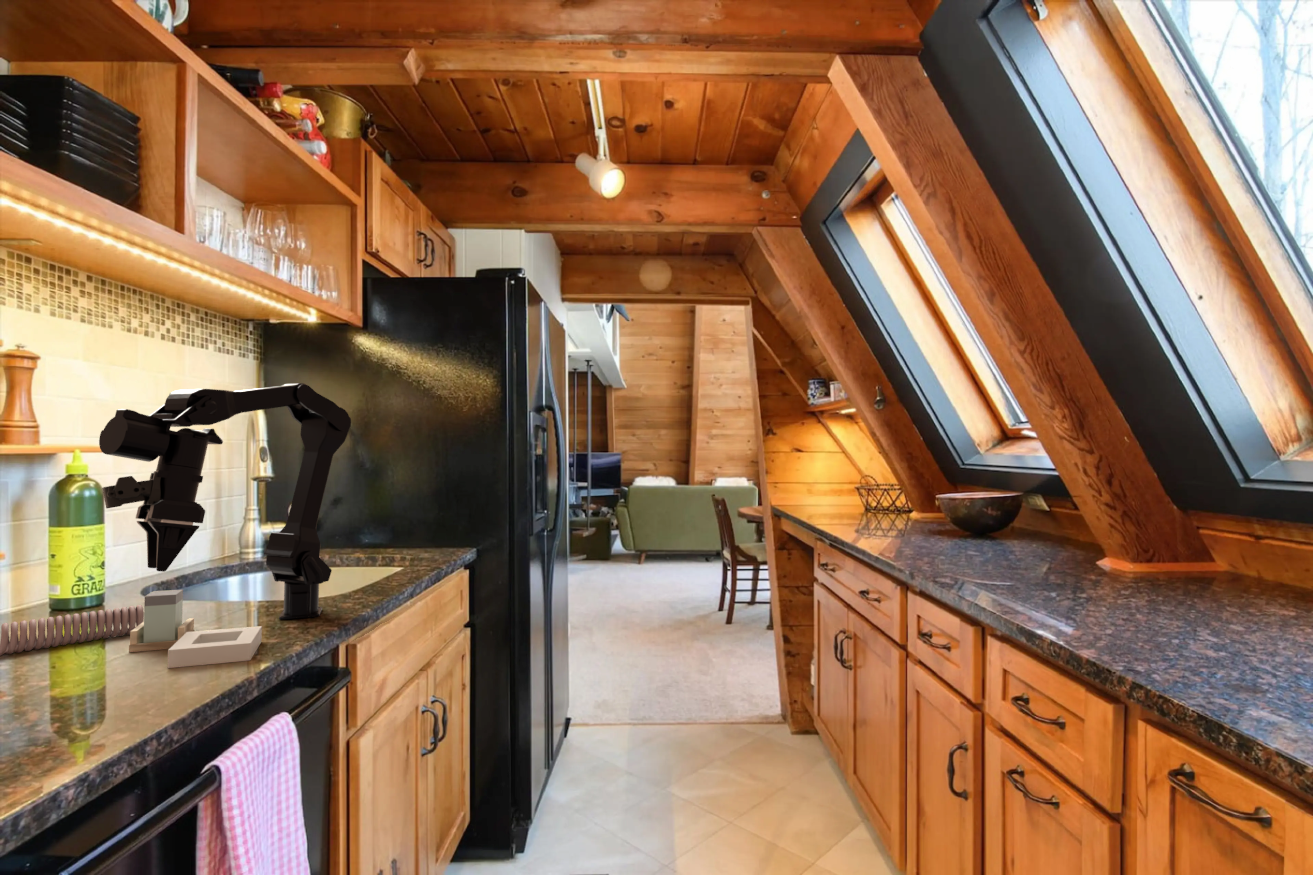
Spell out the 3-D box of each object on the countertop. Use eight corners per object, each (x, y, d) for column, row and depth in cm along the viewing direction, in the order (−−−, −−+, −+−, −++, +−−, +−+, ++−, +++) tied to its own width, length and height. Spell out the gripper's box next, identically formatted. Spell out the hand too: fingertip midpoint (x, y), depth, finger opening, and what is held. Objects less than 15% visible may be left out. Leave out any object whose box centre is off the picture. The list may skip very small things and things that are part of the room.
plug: (151, 641, 105) (152, 591, 106) (181, 639, 107) (182, 589, 107) (143, 648, 102) (144, 596, 102) (174, 646, 103) (175, 594, 103)
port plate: (186, 648, 102) (187, 631, 102) (261, 641, 106) (261, 625, 106) (167, 668, 93) (168, 650, 93) (250, 660, 97) (250, 642, 97)
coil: (142, 603, 113) (-7, 623, 100) (149, 604, 110) (-3, 625, 97) (142, 630, 113) (-7, 654, 99) (149, 633, 110) (-3, 658, 96)
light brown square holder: (143, 640, 106) (144, 621, 106) (194, 635, 109) (194, 617, 109) (128, 652, 100) (129, 632, 100) (183, 647, 103) (183, 627, 103)
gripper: (108, 462, 105) (82, 562, 101) (121, 453, 91) (92, 569, 88) (192, 473, 112) (170, 567, 109) (215, 467, 98) (192, 574, 95)
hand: (156, 569), depth 100 cm, fingers open, 9 cm apart
